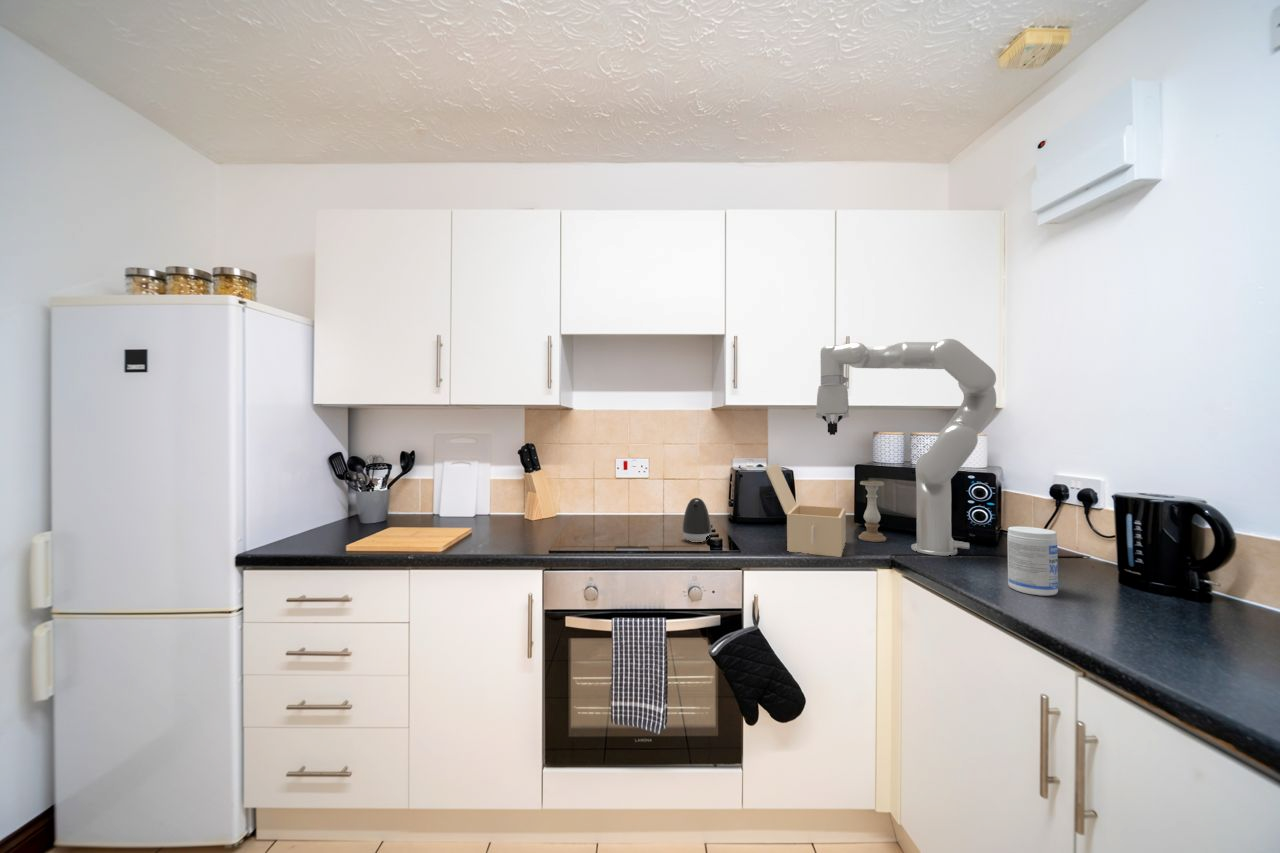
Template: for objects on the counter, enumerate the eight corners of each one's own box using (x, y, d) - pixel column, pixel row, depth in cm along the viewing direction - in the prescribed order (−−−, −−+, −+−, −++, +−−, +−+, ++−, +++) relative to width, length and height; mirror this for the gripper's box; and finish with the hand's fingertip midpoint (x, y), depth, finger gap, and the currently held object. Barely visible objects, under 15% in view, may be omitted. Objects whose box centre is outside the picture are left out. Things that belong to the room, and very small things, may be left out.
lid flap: (778, 463, 179) (776, 464, 179) (766, 467, 161) (764, 468, 161) (796, 505, 176) (795, 505, 176) (787, 514, 158) (785, 514, 158)
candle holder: (857, 540, 172) (857, 482, 172) (859, 535, 180) (859, 480, 180) (885, 543, 168) (885, 483, 168) (886, 538, 176) (886, 481, 176)
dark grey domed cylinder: (679, 544, 169) (679, 499, 169) (684, 537, 179) (684, 495, 179) (709, 545, 166) (709, 500, 166) (712, 538, 176) (712, 496, 176)
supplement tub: (1063, 599, 113) (1062, 535, 113) (1011, 593, 117) (1011, 531, 118) (1052, 587, 121) (1051, 527, 121) (1004, 581, 126) (1004, 524, 126)
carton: (845, 543, 169) (845, 508, 169) (840, 560, 147) (839, 520, 147) (797, 538, 176) (796, 505, 176) (784, 554, 154) (784, 516, 154)
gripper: (856, 381, 170) (856, 434, 170) (810, 383, 177) (811, 434, 177) (855, 379, 164) (855, 435, 164) (808, 381, 170) (808, 434, 170)
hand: (832, 434), depth 170 cm, fingers closed
